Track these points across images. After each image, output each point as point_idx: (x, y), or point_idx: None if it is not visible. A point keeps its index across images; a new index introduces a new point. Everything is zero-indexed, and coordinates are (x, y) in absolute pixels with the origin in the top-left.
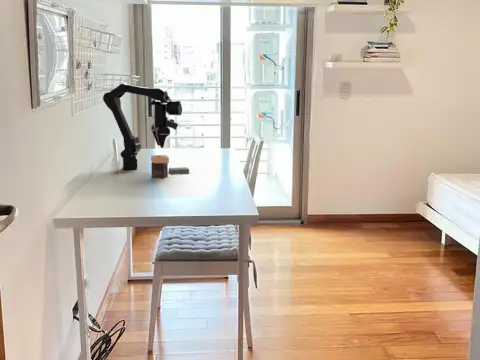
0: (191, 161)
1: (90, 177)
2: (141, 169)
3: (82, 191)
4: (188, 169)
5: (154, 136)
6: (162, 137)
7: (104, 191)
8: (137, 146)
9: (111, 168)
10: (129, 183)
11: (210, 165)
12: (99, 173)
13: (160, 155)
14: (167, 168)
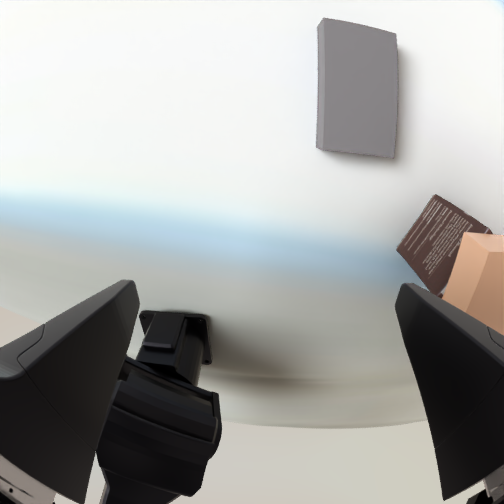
0: (18, 12)
1: (323, 427)
2: (198, 291)
3: None
4: (395, 38)
5: (100, 431)
6: (499, 403)
7: None
8: (176, 424)
9: None
10: None
11: None
12: (266, 416)
13: (482, 294)
14: (463, 211)
